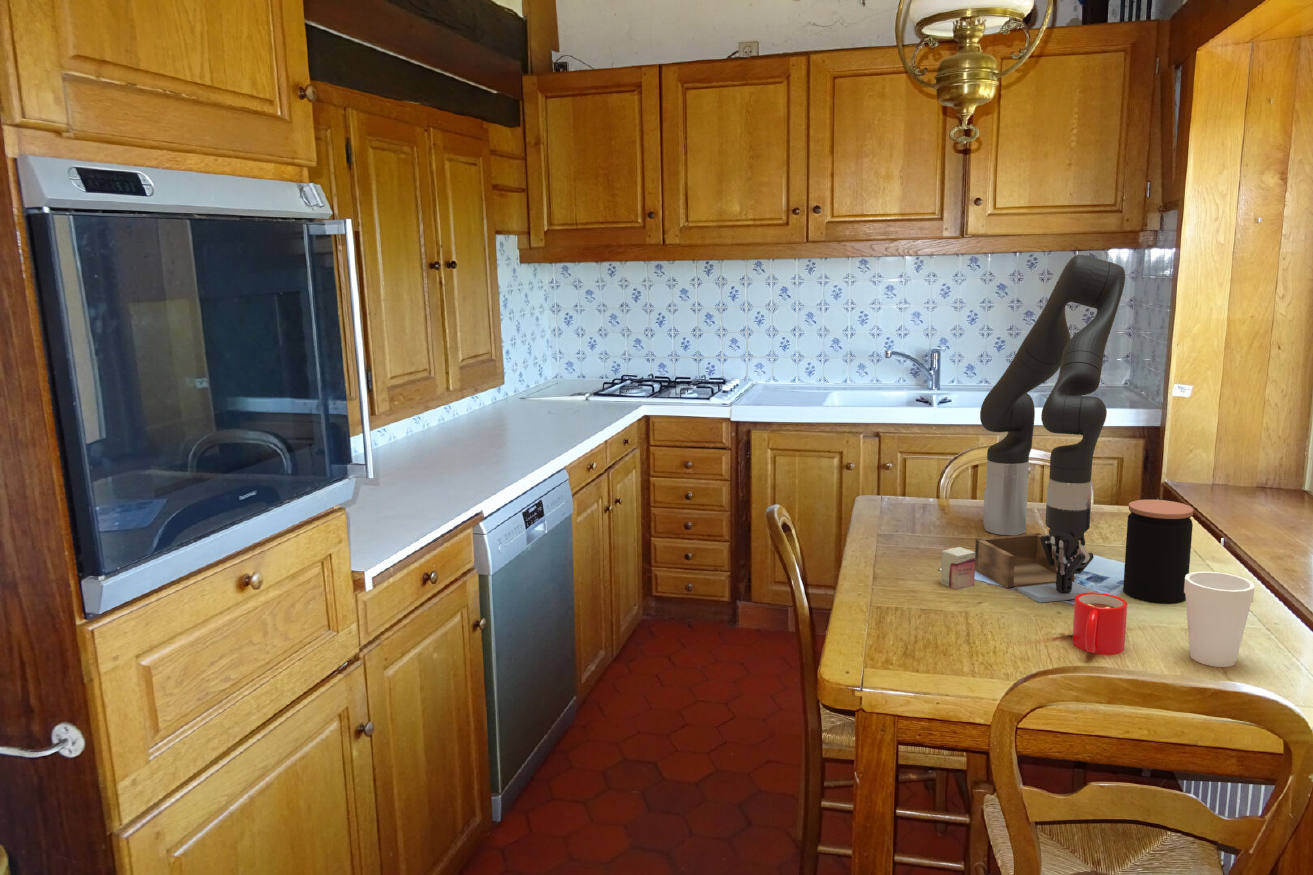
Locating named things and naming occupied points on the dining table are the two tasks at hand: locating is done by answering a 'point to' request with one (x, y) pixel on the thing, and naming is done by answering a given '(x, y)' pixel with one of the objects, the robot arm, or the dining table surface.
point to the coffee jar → (1157, 551)
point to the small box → (957, 568)
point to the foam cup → (1216, 615)
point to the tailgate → (1051, 592)
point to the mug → (1099, 623)
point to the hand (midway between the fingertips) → (1063, 591)
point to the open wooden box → (1014, 560)
